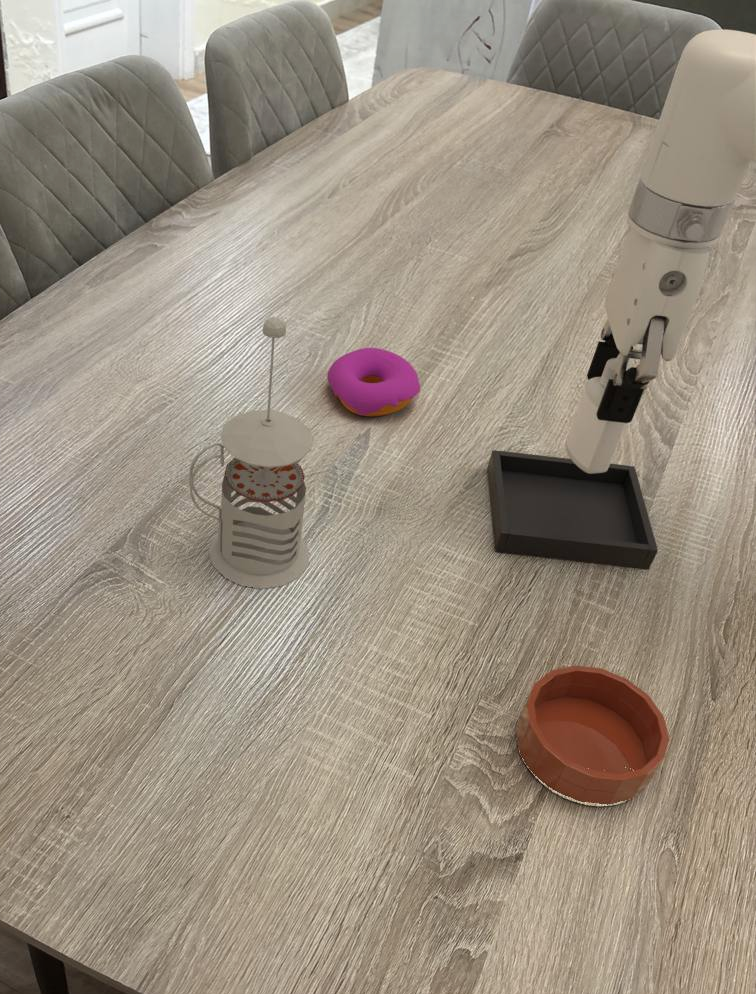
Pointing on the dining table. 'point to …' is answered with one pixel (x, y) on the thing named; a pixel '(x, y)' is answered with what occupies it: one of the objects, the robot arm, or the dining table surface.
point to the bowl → (591, 735)
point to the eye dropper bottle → (594, 427)
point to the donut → (373, 381)
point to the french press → (261, 493)
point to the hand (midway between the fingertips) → (608, 398)
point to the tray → (568, 511)
